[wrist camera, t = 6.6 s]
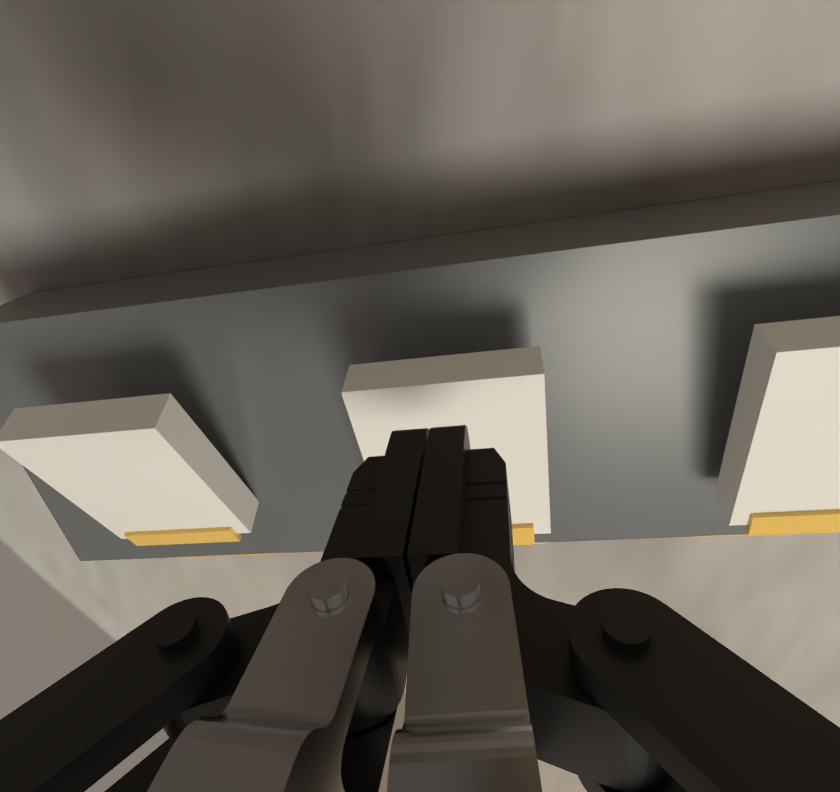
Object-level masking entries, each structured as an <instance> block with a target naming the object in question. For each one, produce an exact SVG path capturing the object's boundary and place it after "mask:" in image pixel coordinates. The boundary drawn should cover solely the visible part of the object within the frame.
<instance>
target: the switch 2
mask: <svg viewBox="0 0 840 792" xmlns="http://www.w3.org/2000/svg"><path fill="white" fill-rule="evenodd" d="M341 394H342V397H343V400H344V403H345V406H346V409H347V412H348V415H349V418H350V421H351V424H352V427H353V430H354V433H355V436H356V439H357V442H358V445H359V448H360V451H361V454H362V457H363V460H364V461H365V460H366V459H367V458H368V457H372V456H385V452H386V449H387V445H388V442H389V439H390V435H391V432H392V431H396V430H409V429H422V428H428V429H429V430H430V428H433V427H446V426H458V425H466V426H467V429H468V435H469V442H470V449H484V448H495V450H496V451H497V452H498V453H499V455H500V456H501V457H502V459H503V460H504V461H505V462H506V471H507V481H508V490H509V500H510V510H511V520H512V534H513V545H528V544H535V538H534V534H547V533H551V524H550V499H549V475H548V450H547V425H546V401H545V376H544V369H543V363H542V357H541V351H540V346H534V347H524V348H514V349H504V350H494V351H484V352H474V353H464V354H454V355H444V356H434V357H424V358H414V359H404V360H394V361H384V362H374V363H364V364H354V365H350V366H349V369H348V372H347V375H346V378H345V382H344V385H343V388H342V391H341Z"/></svg>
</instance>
